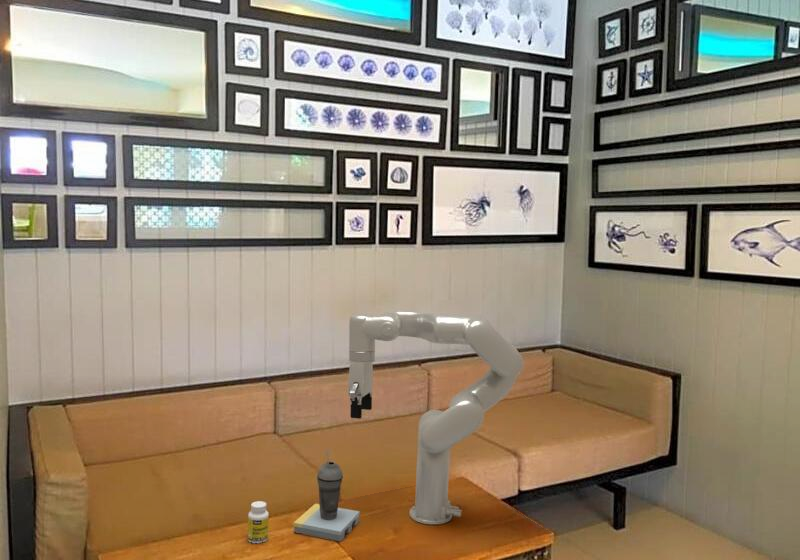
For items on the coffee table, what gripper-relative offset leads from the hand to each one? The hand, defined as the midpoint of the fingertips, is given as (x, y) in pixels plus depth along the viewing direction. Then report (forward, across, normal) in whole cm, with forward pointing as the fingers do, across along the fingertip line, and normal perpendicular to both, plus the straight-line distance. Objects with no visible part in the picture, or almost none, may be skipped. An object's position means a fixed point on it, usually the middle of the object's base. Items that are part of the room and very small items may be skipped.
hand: (361, 413), depth 197 cm
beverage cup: (+27, +13, -5) cm, 30 cm away
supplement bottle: (+29, +26, -20) cm, 44 cm away
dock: (+30, +13, -6) cm, 33 cm away
